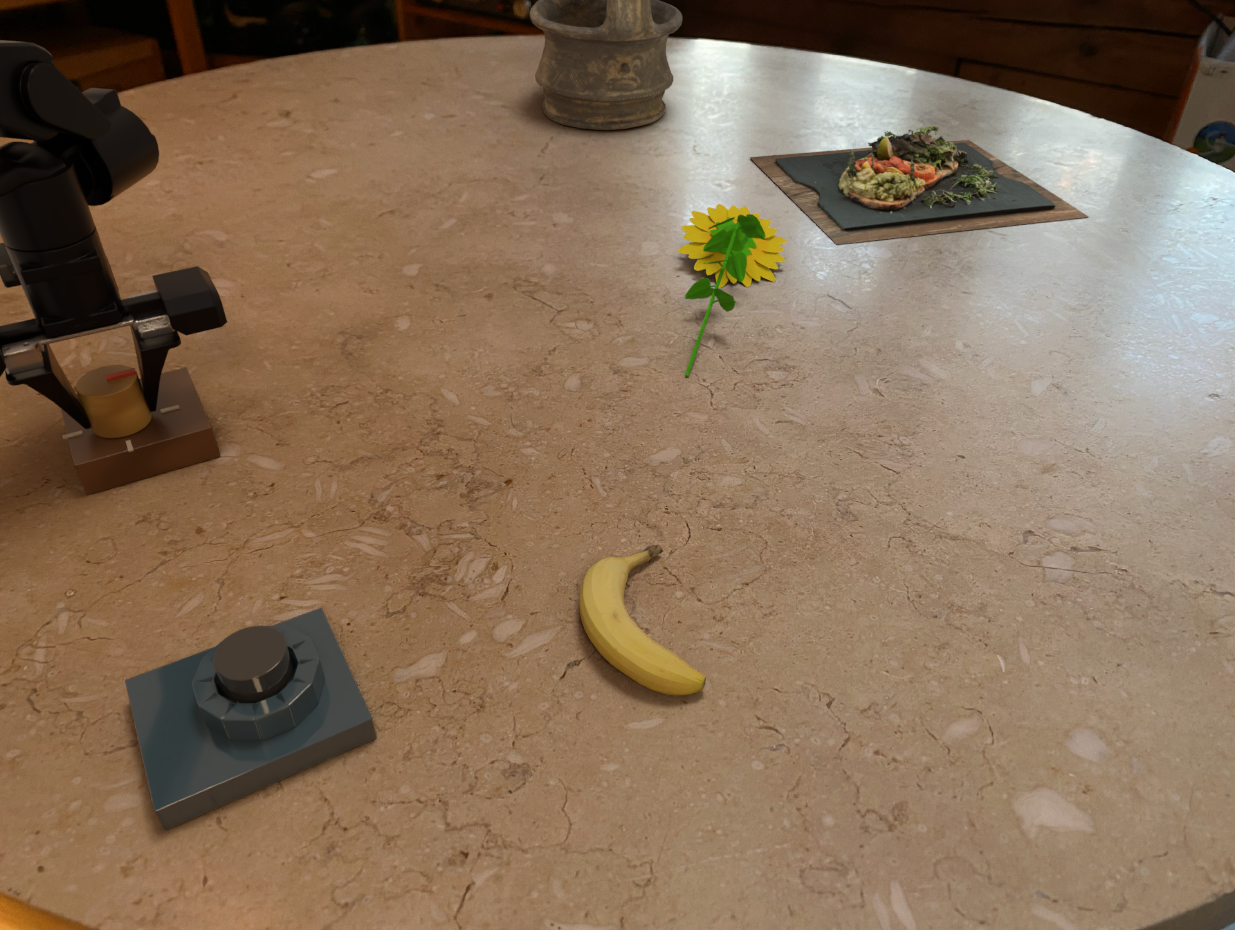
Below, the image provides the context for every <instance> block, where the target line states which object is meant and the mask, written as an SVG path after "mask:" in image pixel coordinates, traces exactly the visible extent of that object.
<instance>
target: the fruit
mask: <svg viewBox="0 0 1235 930" xmlns="http://www.w3.org/2000/svg"><path fill="white" fill-rule="evenodd" d="M662 553H664V550H663V548H662V546H661V544H652V545H649V546H647V547H646V548H644V549H643V550H641V551H640V552H637V553H635V554H632V555H628V556H622V557H613V556H612V557H611V556H609V557H607V556H606V557H605V558H602V559H600V560H599V561H597V562H595V563H594V564H593V565H592V566H590V568H588V569H587V571H586V574H585V576H584V578H583V579H582V582H581V587H580V590H579V615H580V620H581V623H582V626H583V629H584V632H585V633H586V635H587V637H588V639H589V641H590V642H591V643H592V645H593V646H594V647H595V649H596V650H597V651H598V653H599V654H600V655H601V656H602V657H603V658H604V659H605V660H606V661H607V662H608V663H609V664H610V665H612V667H614V668H616V669H617V670H619V671H620V672H621V673H622V674H624V675H625V676H627V677H628V678H630V679H631V680H633V681H634V682H636V683H637V684H639V685H641V686H642V687H644V688H647V689H649V690H651V691H652V692H656V693H659V694H663V695H669V696H686V695H691V694H696V693H700V692H703V691H704V689H705V687H706V683H707V676H706V675H705V674H703V673H701V672H700V671H698V670H696V669H694V668H693V667H691V665H689V664H688V663H687V662H686V661H684V660H683V658H680V657H679V656H678V655H676V654H675V653H674V652H672V651H671V650H668V649H667V648H665V647H664V646H663V645H661V644H659V643H658V642H656V641H655V640H654V639H653V638H652V637H650V636H649V635H648V634H647V633H645V632H644V631H643V630H642V629H641V628H640V627H639V626H638V625H637V624H636V623H635V622H634V620H633V619H632V618H631V616H630V615H629V612H628V610H627V607H626V605H625V591H626V586H627V582H628V578H629V574H630V572H631V571H632V569H633V568H635V567H638V566H639V565H641V564H644V563H647V562H649V561H650V560H652V559H653V558H655V557H657V556H659V555H660V554H662Z"/></svg>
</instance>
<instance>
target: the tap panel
mask: <svg viewBox="0 0 1235 930" xmlns="http://www.w3.org/2000/svg"><path fill="white" fill-rule="evenodd" d="M139 380H140V383H141V385H142V382H141V377H139ZM76 394H77V393H76ZM77 396H78V394H77ZM60 411H61V415H62V419H63V423H64V428H65V433H66V434H62V436H61V437H62V440H66V439H67V442H68V446H69V450H70V454H71V458H72V463H73V467H74V469H75V471H76V474H77V476H78V478H79V480H80V481H79V482H80V483H81V485H82V487H83V490H84V492H85V494H86V495H87V496H89V495H93V494H96V493H100V492H103V491H106V490H110V489H113V488H116V487H120V486H124V485H127V484H130V483H133V482H134V483H135V482H138V481H140V480H144V479H147V478H152V477H155V476H158V475H162V474H165V473H169V472H172V471H175V470H179V469H183V468H186V467H189V466H193V465H196V464H199V463H203V462H206V461H209V460H212V459H216V458H219V457H221V452H220V449H219V446H218V443H217V438H216V436H215V433H214V430H213V427H212V424H211V422H210V420H209V417H208V414H207V413H206V410H205V408H204V406H203V403H202V401H201V398H200V395H199V394H198V391H197V389H196V386H195V384H194V381H193V379H192V377H191V375H190V372H189V369H188V367H187V366H185V367H180V368H177V369H172V370H169V371H165V372H162V373H161V377H160V384H159V392H158V400H157V407H156V411H154V412H151V413H152V418H151V421H150V423H149V424H148V425H147V426H146V427H145V428H143V429H142V430H140V431H138V432H137V433H134V434H132V435H129V436H125V437H120V438H104V437H100V436H98V435H96V434H95V433H94V432H93V431H92V428H89V429H85V428H83V427H82V426H81V425H80V424H79V423H78V422H76V421H75V420H74V419H73V418H72V417H71V416H69V415H68V414H67V413H66V412H65V411H64V410H62V409H61V408H60Z"/></svg>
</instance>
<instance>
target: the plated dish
mask: <svg viewBox="0 0 1235 930" xmlns="http://www.w3.org/2000/svg"><path fill="white" fill-rule="evenodd" d="M939 130H940V127H939V126H937V125H936V126H935V125H930V126H924V127H918V128H916V131H915V132H914V131H913V130H911V129H908V132H907V133H904V134H900V135H896V134H894V133H893V132H892V131H887V130H886V131H884V136H883V135H881V136H880V137H878V138H877V140H875V141H872V142H867V144H868V147H861V148H860V147H859V148H858V147H857V148H847V149H835V150H823V151H811V152H797V153H796V152H795V153H785V154H773V155H762V156H761V155H759V156H750V157H749V159H750V160H752V162H754V164H755V165H756V166H757V167H758V168H759V169H760V170H761V171H762V172H763V173H765V174H766V176H767V177H768V178H769V179H771V181H773V182H774V184H776V185H777V187H779V188H780V189H781V191H782V192H783V193H784V194H785V195H787V196H788V198H790V199H791V200H792V202H794V203H795V204H796V205H797V206H798V208H799V209H801V210H802V211H803V212H804V213H805V214H806V215H807V216H808V217H809V219H811V220H812V222H814V223H815V224H816V225H817V227H819V228H820V230H822V231H823V232H824V234H826V235H827V236H828V238H830V240H831V241H832V242H833V243H835V245H845V244H846V245H847V244H854V243H863V242H873V241H882V240H890V239H899V238H900V239H901V238H909V237H918V236H927V235H928V236H929V235H935V234H946V233H954V232H965V231H973V230H983V229H989V228H990V229H991V228H1000V227H1001V228H1002V227H1009V226H1010V227H1011V226H1018V225H1028V224H1036V223H1045V222H1046V223H1047V222H1055V221H1063V220H1073V219H1083V218H1089V215H1087V214H1085V213H1084V212H1083V211H1081V210H1079V209H1078V208H1076V207H1075V206H1073V205H1071V203H1069V202H1067V201H1066V200H1064V199H1063V198H1061V197H1059V196H1058V195H1056V194H1055V193H1053V192H1052V191H1050V190H1048V189H1047V188H1045V187H1043V186H1042V185H1040V184H1039V183H1037V182H1036V181H1034V180H1033V179H1031V178H1029V177H1028V176H1026V175H1024V174H1023V173H1021V172H1020V171H1019V170H1017V169H1015V168H1014V167H1012V166H1010V164H1007V163H1006V162H1004V161H1003V160H1001V159H1000V158H998V157H996V156H994V155H993V154H991V153H990V152H988V151H987V150H985V149H983V148H982V147H980V146H979V145H977V144H976V143H974V142H973V141H972V140H969V139H962V140H948V141H946V139H945V138H943V137H944V136H943V135H940V136H939V137H937V138H933V136H932V135H931V133H932V132H934V135H935V136H937V134H938V131H939Z"/></svg>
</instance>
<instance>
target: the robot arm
mask: <svg viewBox="0 0 1235 930" xmlns="http://www.w3.org/2000/svg"><path fill="white" fill-rule="evenodd" d="M0 138H3V139H12V140H13V139H14V140H15V139H16V140H24V141H10V142H5V143H4V144H1V145H0V237H1V240H2V242H0V279H1V281H2V283H3V286H4V288H7V289H10V288H14V287H19V286H21V288H22V290H23V292H24V294H25V297H26V299H27V301H28V304H29V306H30V309H31V312H32V313H33V317H34V318H31V319H25V320H21V321H16V322H12V323H8V324H3V325H0V378H1V377H2V375H3V374H5V380H6V382H7V383H8V385H10V386H11V387H12V386H13V387H16V386H17V387H18V386H21V385H22V386H23V385H26V386H28V387H29V388H30V389H32V390H34V391H35V392H37V393H39V394H40V395H42V396H43V397H44V398H47V399H48V400H50V401H51V402H52V403H54V404H55V405H56V406H57V407H59V408H60V410H61V409H62V410H64V411H65V412H66V413H67V414H68V415H69V416H71V417H72V418H73V419H74V420H75V421H76V422H78V423H79V424H80V425H81V426H82V427H83V428H85V429H89V428H91V426H90V423H89V421H88V418H87V416H86V414H85V411H84V409H83V406H82V404H81V401H80V399H79V397H78V396H77V392H76V390H75V388H74V387H73V385H72V384H71V381H70V380H69V379H68V377H67V375H66V373H65V372H64V369H63V368H62V367H61V365H60V363H59V361H58V360H57V357H56V355H55V353H54V351H53V348H52V347H51V345H50V344H56V343H59V342H63V341H68V340H72V339H76V338H81V337H85V336H90V335H94V334H99V333H103V332H107V331H111V330H116V329H120V328H125V327H129V328H130V332H131V336H132V340H133V345H134V349H135V357H136V361H137V367H138V372H139V378H141V382H142V388H143V391H144V394H145V397H146V400H147V403H148V406H149V409H150V411H151V412H154V411H156V407H157V400H158V392H159V384H160V377H161V373H163V371H164V370H163V369H164V366H165V364H166V360H167V357H168V354H169V351H170V350H171V349H176V348H178V347H179V346H181V344H182V340H181V337H180V334H182V335H184V336H189V335H196V334H197V333H198V334H199V333H203V332H208V331H211V330H215V329H216V330H217V329H219V328H222V327H224V326H225V325H226V324H227V323H228V319H227V315H226V312H225V308H224V304H223V302H222V298H221V296H220V294H219V291H218V289H217V288H216V286H215V284H214V282H213V280H212V279H211V276H210V273H209V272H208V271H206V270H205V269H203V268H202V267H200V266H199V265H197V266H192V267H187V268H181V269H178V270H173V271H172V270H171V271H166V272H162V273H158V274H154V275H152V281H153V284H154V287H155V288H154V289H151V290H146V291H141V292H138V293H136V292H135V293H133V294H130V295H128V296H127V297H126V298H121V294H120V291H119V287H118V284H117V281H116V278H115V275H114V273H113V270H112V267H111V264H110V261H109V259H108V256H107V255H106V251H105V248H104V247H103V243H102V239H101V238H100V234H99V232H98V229H97V226H96V224H95V220H94V218H93V215H92V212H91V209H90V207H98V206H103V205H105V204H107V203H109V202H111V201H112V200H113V199H115V198H117V197H118V196H120V195H121V194H122V193H124V192H126V191H127V190H128V189H130V188H131V187H132V186H134V185H136V184H137V183H139V182H140V181H142V180H143V179H145V178H146V177H148V176H149V175H151V174H152V173H153V171H154V170H155V169H157V166H158V163H159V162H160V161H159V160H160V149H159V143H158V140H157V138H156V136H155V135H154V134H153V133H152V132H151V130H150V129H149V127H148V125H147V124H146V123H145V122H144V121H143V120H142V119H141V118H140V117H139V116H138V115H137V114H136V113H134V112H133V111H132V110H130V109H129V108H126V107H125V106H123V105H122V104H121V101H120V98H119V94H118V91H117V90H115V89H111V88H98V87H90V88H88V89H86V90H84V91H80V89H79V88H78V87H77V86H76V85H74V83H73V82H71V81H70V79H69V78H67V77H66V76H65V74H63V72H61V71H60V69H59V68H57V66H56V65H55V63H54V57H53V55H52V53H50V52H49V50H47V49H46V48H45V47H43V46H41V45H39V44H37V43H34V42H28V41H16V40H3V39H0ZM25 141H32V142H25ZM89 206H90V207H89ZM179 333H180V334H179ZM62 410H61V411H62Z"/></svg>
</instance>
